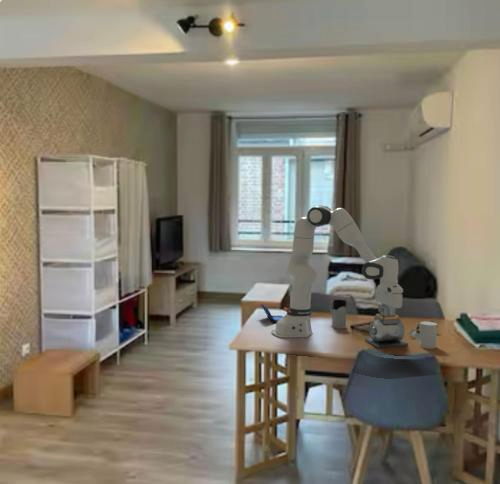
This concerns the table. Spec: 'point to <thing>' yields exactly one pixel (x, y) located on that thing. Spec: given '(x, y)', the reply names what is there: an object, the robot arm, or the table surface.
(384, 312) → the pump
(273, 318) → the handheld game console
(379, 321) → the motor
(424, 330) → the cup
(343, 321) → the glass holder
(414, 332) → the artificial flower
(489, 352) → the table surface
